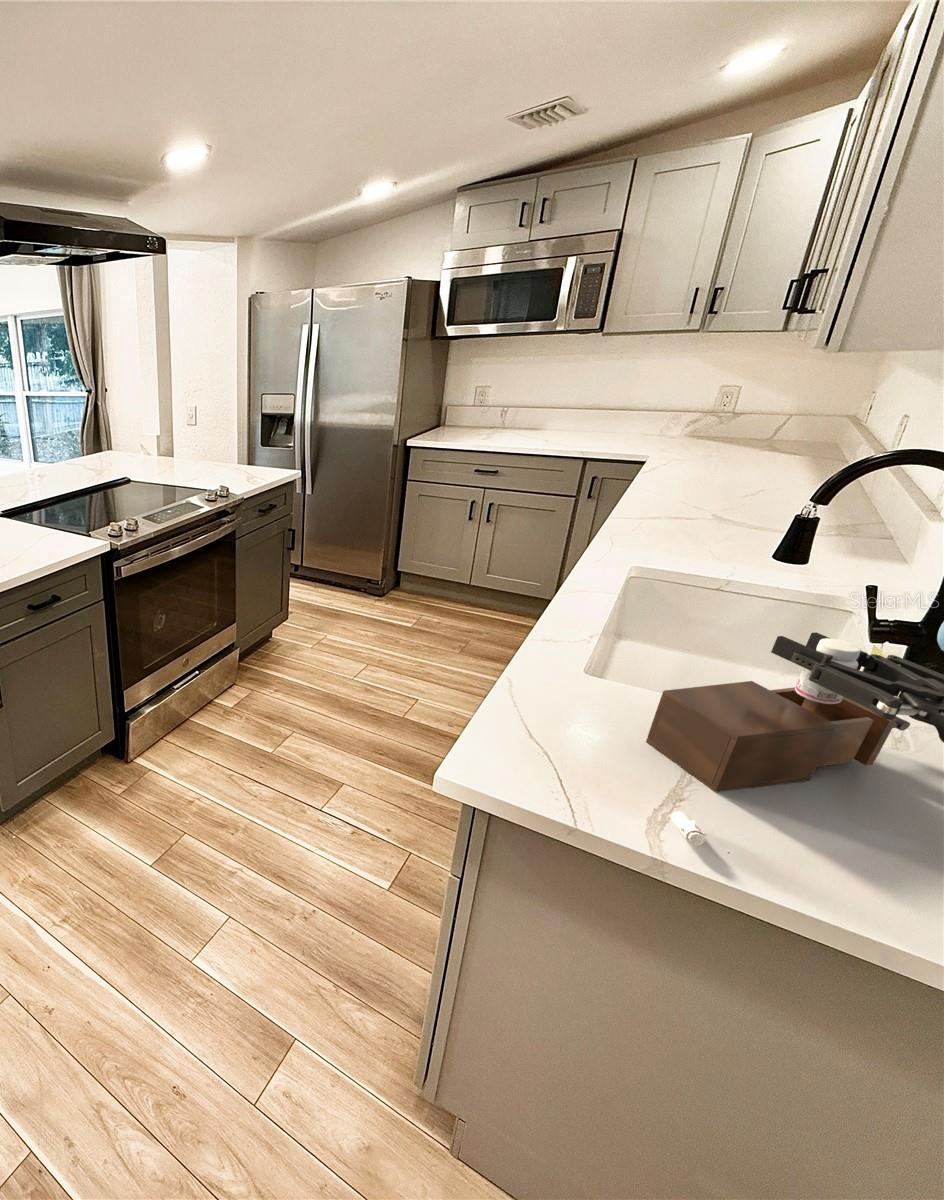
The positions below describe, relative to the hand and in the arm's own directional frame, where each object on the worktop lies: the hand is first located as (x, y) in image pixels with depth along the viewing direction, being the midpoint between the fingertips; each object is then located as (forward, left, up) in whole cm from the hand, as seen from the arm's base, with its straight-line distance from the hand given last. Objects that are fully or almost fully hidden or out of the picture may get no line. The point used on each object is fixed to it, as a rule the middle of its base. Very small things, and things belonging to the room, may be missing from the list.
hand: (793, 642), depth 91 cm
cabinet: (+11, +5, -16) cm, 20 cm away
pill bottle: (0, +5, -6) cm, 8 cm away
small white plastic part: (+29, +17, -16) cm, 37 cm away
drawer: (-3, +5, -15) cm, 16 cm away
